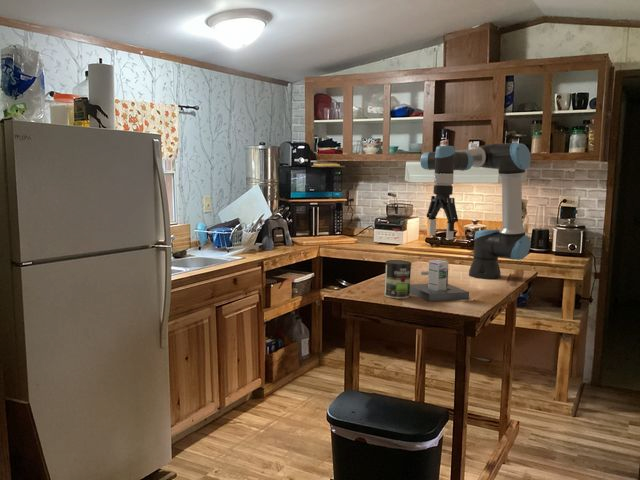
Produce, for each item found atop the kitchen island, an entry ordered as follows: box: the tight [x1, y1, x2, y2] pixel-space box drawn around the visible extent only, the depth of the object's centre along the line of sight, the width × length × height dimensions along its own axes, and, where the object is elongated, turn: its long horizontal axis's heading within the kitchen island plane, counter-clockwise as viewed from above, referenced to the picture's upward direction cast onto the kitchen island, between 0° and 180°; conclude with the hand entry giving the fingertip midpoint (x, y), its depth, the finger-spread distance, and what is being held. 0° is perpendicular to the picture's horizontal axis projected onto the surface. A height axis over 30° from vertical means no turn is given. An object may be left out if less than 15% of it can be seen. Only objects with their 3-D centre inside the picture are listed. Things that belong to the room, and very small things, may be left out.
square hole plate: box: [410, 283, 470, 303], centre depth 226 cm, size 18×18×3 cm
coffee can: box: [384, 259, 412, 300], centre depth 223 cm, size 10×10×14 cm
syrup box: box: [427, 259, 449, 291], centre depth 226 cm, size 6×6×14 cm
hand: (440, 237), depth 223 cm, fingers open, 13 cm apart
